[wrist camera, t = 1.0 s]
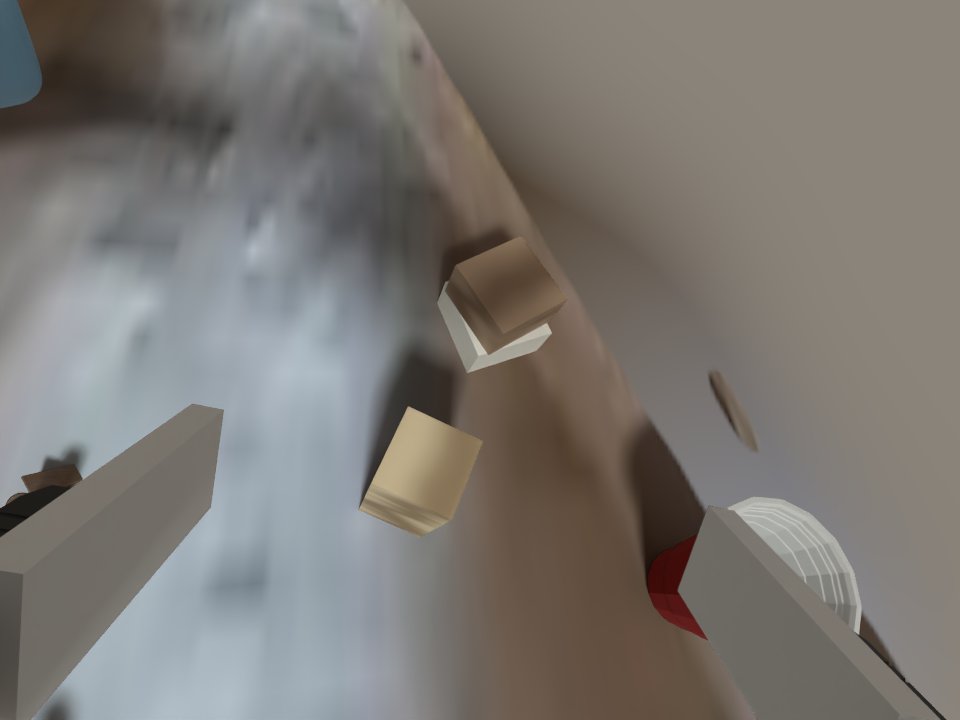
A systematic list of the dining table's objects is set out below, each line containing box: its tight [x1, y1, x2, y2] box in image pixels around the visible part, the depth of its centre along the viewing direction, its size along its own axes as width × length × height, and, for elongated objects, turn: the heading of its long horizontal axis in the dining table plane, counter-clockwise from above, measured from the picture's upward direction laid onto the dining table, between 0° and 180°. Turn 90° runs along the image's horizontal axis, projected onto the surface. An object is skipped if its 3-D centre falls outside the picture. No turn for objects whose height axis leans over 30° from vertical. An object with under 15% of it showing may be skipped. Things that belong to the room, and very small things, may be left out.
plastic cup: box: [647, 497, 862, 640], centre depth 39 cm, size 11×11×12 cm
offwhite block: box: [437, 281, 552, 373], centre depth 47 cm, size 7×7×4 cm
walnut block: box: [445, 236, 568, 355], centre depth 44 cm, size 6×6×4 cm
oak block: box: [359, 406, 483, 537], centre depth 37 cm, size 5×5×11 cm
